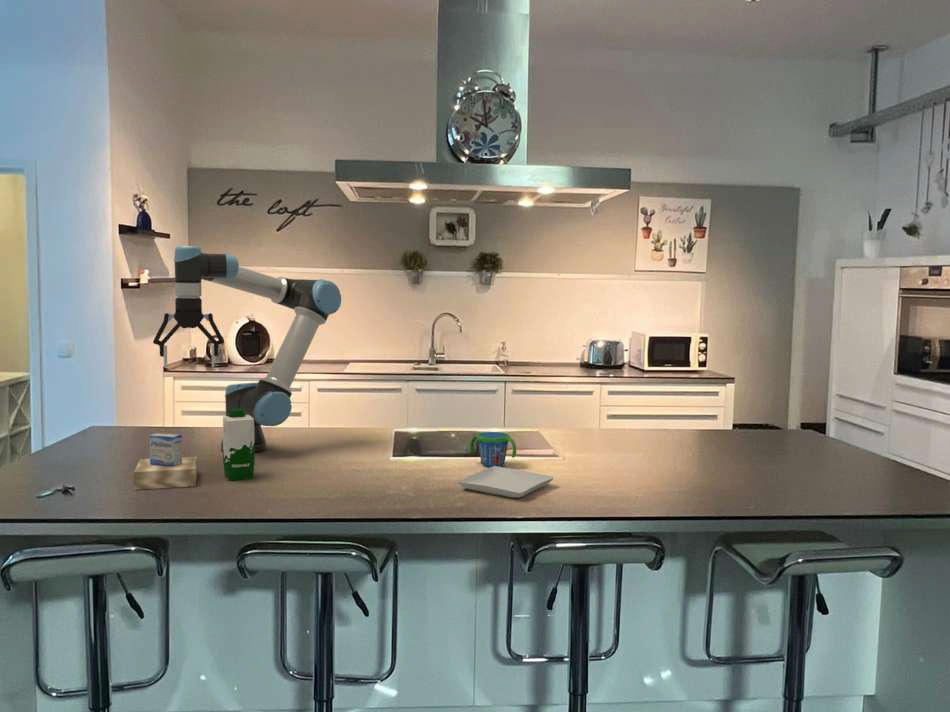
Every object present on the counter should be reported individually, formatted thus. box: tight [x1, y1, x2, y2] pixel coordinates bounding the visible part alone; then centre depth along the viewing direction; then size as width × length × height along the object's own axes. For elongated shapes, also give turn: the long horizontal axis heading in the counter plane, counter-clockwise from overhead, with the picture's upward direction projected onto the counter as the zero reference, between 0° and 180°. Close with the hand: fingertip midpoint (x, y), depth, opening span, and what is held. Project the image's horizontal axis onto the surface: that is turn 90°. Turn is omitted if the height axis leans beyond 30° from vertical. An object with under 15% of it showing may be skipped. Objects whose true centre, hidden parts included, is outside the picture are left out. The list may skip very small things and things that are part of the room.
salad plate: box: [457, 466, 554, 499], centre depth 226 cm, size 21×21×3 cm
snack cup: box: [469, 431, 517, 468], centre depth 253 cm, size 16×10×10 cm
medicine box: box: [149, 432, 183, 466], centre depth 226 cm, size 8×4×9 cm, turn 79°
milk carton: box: [222, 409, 256, 481], centre depth 232 cm, size 9×9×20 cm
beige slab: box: [133, 456, 198, 491], centre depth 226 cm, size 16×16×5 cm
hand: (189, 367), depth 238 cm, fingers open, 13 cm apart
